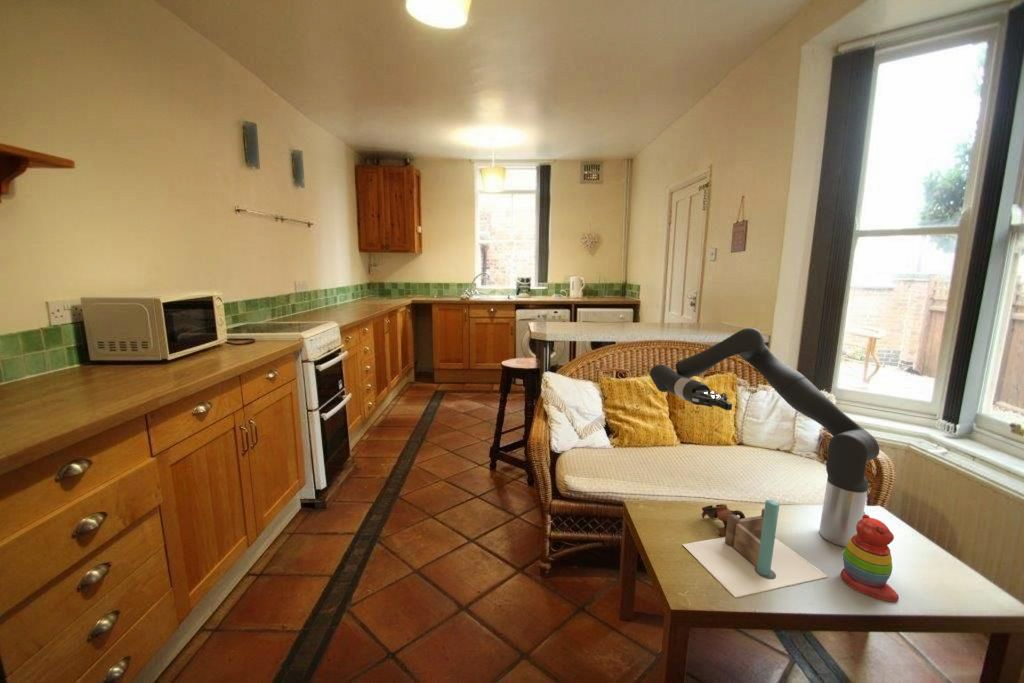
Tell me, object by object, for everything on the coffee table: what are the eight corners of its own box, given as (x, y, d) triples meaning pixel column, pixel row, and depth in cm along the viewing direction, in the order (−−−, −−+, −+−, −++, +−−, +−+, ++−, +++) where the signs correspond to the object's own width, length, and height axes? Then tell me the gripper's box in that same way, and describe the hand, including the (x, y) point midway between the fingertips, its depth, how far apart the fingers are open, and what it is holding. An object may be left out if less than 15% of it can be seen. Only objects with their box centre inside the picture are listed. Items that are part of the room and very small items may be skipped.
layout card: (764, 530, 127) (764, 529, 127) (828, 577, 108) (828, 576, 108) (682, 545, 120) (682, 544, 119) (735, 598, 100) (735, 596, 100)
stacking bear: (902, 603, 100) (916, 536, 97) (854, 596, 102) (866, 530, 99) (873, 572, 110) (885, 510, 107) (830, 566, 112) (840, 505, 109)
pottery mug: (711, 538, 124) (702, 509, 126) (704, 534, 132) (696, 506, 135) (753, 533, 122) (744, 503, 124) (743, 528, 130) (735, 501, 133)
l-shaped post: (730, 546, 118) (738, 483, 115) (739, 545, 119) (747, 482, 115) (762, 576, 107) (772, 506, 103) (772, 574, 107) (782, 505, 104)
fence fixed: (764, 533, 125) (767, 508, 124) (772, 539, 122) (776, 513, 121) (722, 541, 121) (725, 514, 120) (730, 547, 118) (733, 520, 117)
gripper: (675, 381, 138) (712, 396, 122) (709, 378, 142) (749, 393, 125) (673, 402, 140) (710, 420, 123) (706, 400, 143) (746, 417, 126)
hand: (729, 407), depth 124 cm, fingers closed
